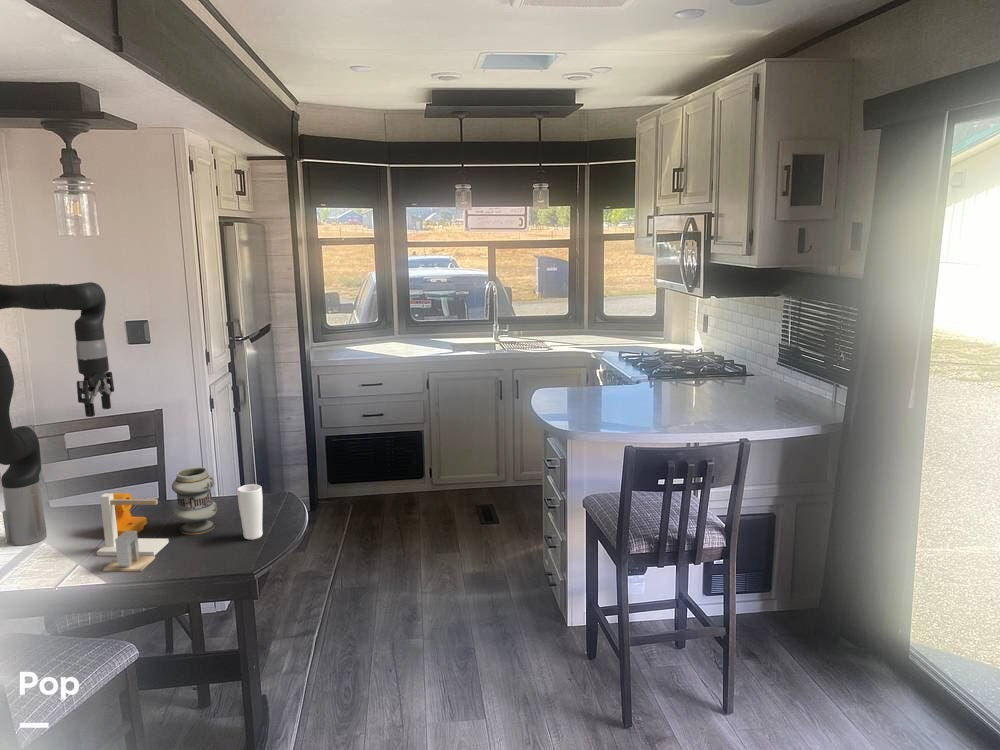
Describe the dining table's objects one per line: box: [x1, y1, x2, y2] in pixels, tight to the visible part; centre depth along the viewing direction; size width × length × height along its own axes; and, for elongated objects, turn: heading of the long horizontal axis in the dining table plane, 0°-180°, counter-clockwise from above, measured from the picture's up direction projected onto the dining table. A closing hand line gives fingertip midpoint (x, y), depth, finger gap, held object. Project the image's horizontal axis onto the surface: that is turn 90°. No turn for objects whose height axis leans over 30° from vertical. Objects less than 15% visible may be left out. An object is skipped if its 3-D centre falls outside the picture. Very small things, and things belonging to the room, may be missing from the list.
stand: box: [96, 493, 170, 557], centre depth 216 cm, size 16×9×16 cm, turn 88°
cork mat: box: [103, 555, 156, 572], centre depth 208 cm, size 10×8×1 cm
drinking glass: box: [237, 483, 264, 540], centre depth 224 cm, size 7×7×15 cm
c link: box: [115, 531, 140, 568], centre depth 207 cm, size 3×6×8 cm, turn 178°
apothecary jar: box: [171, 466, 218, 536], centre depth 230 cm, size 12×12×18 cm
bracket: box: [110, 492, 148, 537], centre depth 228 cm, size 11×7×12 cm, turn 174°
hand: (98, 412), depth 216 cm, fingers open, 8 cm apart
